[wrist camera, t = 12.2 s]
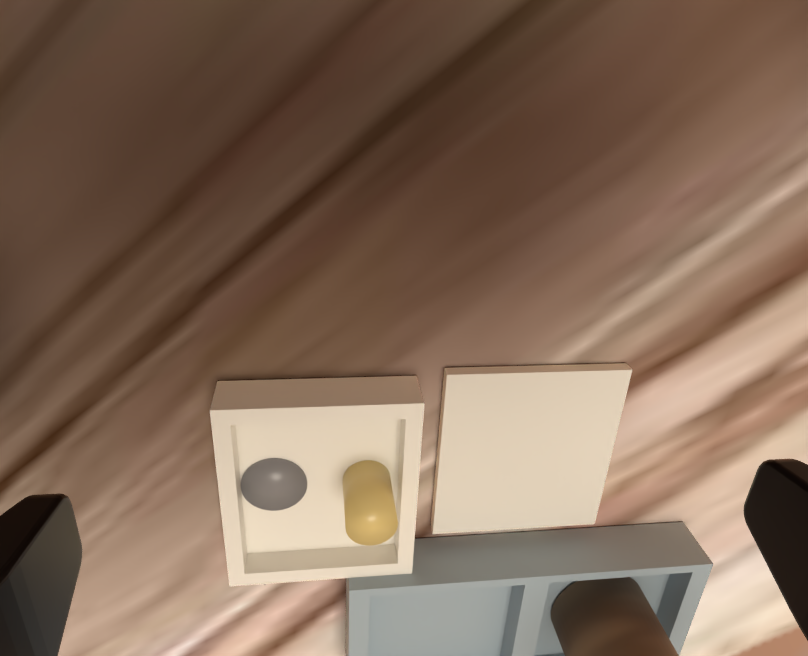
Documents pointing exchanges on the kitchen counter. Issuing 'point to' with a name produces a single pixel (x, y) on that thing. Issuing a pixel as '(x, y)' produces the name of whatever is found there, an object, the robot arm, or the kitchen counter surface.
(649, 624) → the walnut peg
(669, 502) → the kitchen counter surface
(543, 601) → the socket board
